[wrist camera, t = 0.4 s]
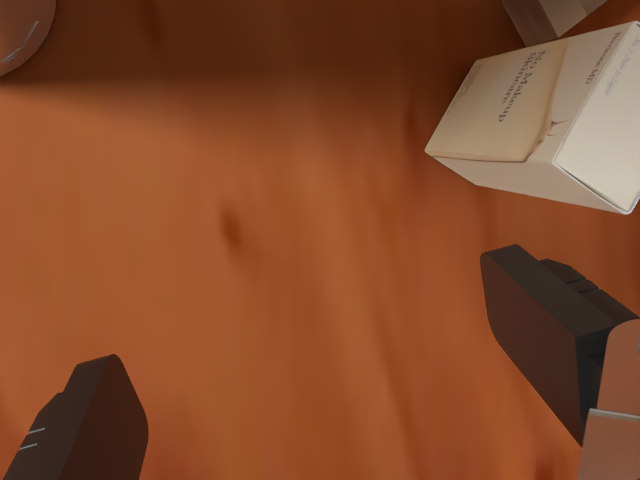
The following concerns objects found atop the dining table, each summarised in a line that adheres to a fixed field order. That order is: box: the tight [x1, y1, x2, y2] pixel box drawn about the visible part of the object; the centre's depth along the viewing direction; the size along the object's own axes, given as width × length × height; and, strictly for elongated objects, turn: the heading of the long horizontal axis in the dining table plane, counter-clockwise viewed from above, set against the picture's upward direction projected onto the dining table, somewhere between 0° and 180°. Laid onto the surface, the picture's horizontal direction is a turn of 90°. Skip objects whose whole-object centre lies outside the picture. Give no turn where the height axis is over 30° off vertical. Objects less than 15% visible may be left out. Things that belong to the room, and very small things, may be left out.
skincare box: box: [425, 21, 640, 215], centre depth 26 cm, size 6×4×12 cm
